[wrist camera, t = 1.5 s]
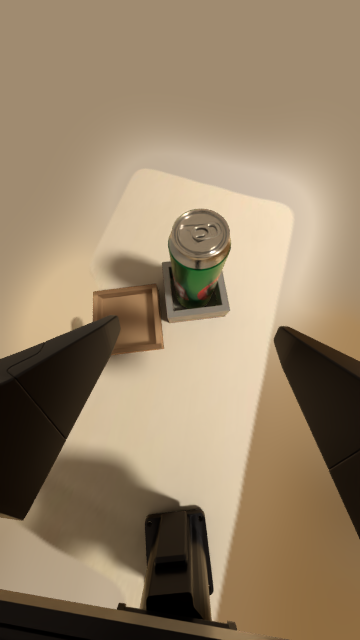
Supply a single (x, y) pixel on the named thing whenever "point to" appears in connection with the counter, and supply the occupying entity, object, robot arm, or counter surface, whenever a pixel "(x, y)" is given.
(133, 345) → the walnut tray
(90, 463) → the counter surface
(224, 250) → the soda can
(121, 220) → the counter surface
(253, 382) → the counter surface
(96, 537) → the counter surface
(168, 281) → the box
